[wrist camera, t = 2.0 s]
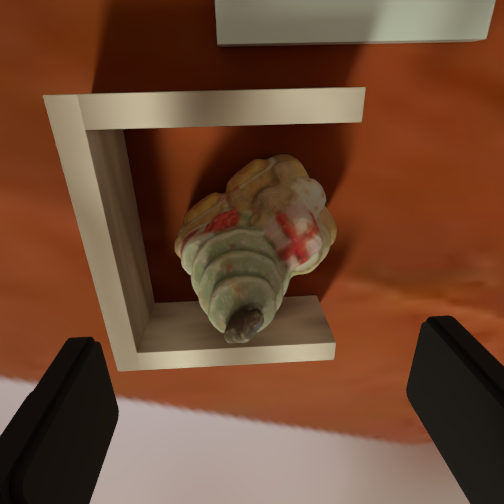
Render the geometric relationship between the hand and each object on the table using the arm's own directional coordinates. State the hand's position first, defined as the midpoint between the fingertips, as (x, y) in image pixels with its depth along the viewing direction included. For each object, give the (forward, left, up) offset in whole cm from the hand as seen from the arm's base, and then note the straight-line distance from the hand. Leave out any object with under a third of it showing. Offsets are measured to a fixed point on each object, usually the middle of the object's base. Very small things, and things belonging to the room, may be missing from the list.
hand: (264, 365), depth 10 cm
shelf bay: (+2, -1, -11) cm, 11 cm away
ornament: (0, -1, -11) cm, 11 cm away
